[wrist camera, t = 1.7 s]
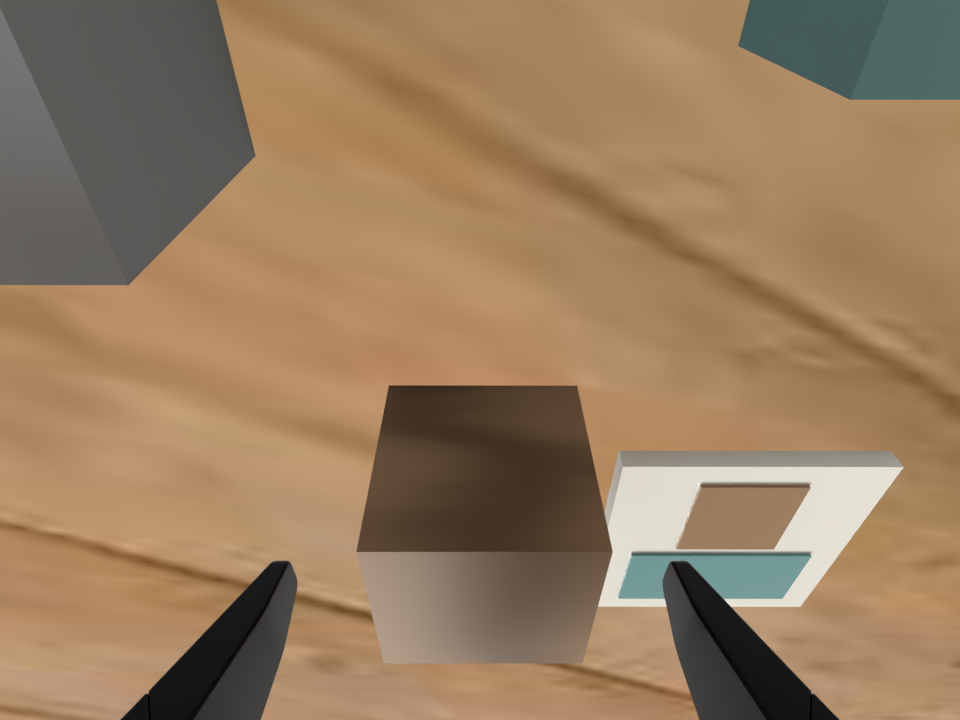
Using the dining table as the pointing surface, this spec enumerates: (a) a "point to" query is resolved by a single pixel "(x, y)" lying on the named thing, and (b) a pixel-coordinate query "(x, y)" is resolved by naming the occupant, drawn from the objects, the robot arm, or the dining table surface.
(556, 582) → the walnut block
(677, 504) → the tile
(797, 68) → the teal base block
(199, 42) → the slate grey block
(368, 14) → the dining table surface
